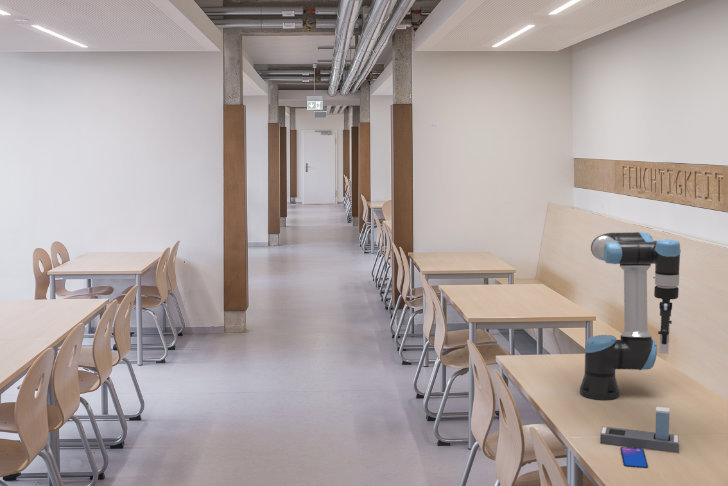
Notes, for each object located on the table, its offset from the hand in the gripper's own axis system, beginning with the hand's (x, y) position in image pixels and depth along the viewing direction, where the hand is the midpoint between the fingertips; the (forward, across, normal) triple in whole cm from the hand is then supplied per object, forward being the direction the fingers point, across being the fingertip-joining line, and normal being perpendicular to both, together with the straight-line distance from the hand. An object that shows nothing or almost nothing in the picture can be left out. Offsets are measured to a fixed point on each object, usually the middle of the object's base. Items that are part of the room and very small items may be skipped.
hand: (664, 347), depth 256 cm
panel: (+30, +13, -6) cm, 33 cm away
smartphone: (+30, +26, -7) cm, 40 cm away
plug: (+30, +13, 0) cm, 32 cm away
